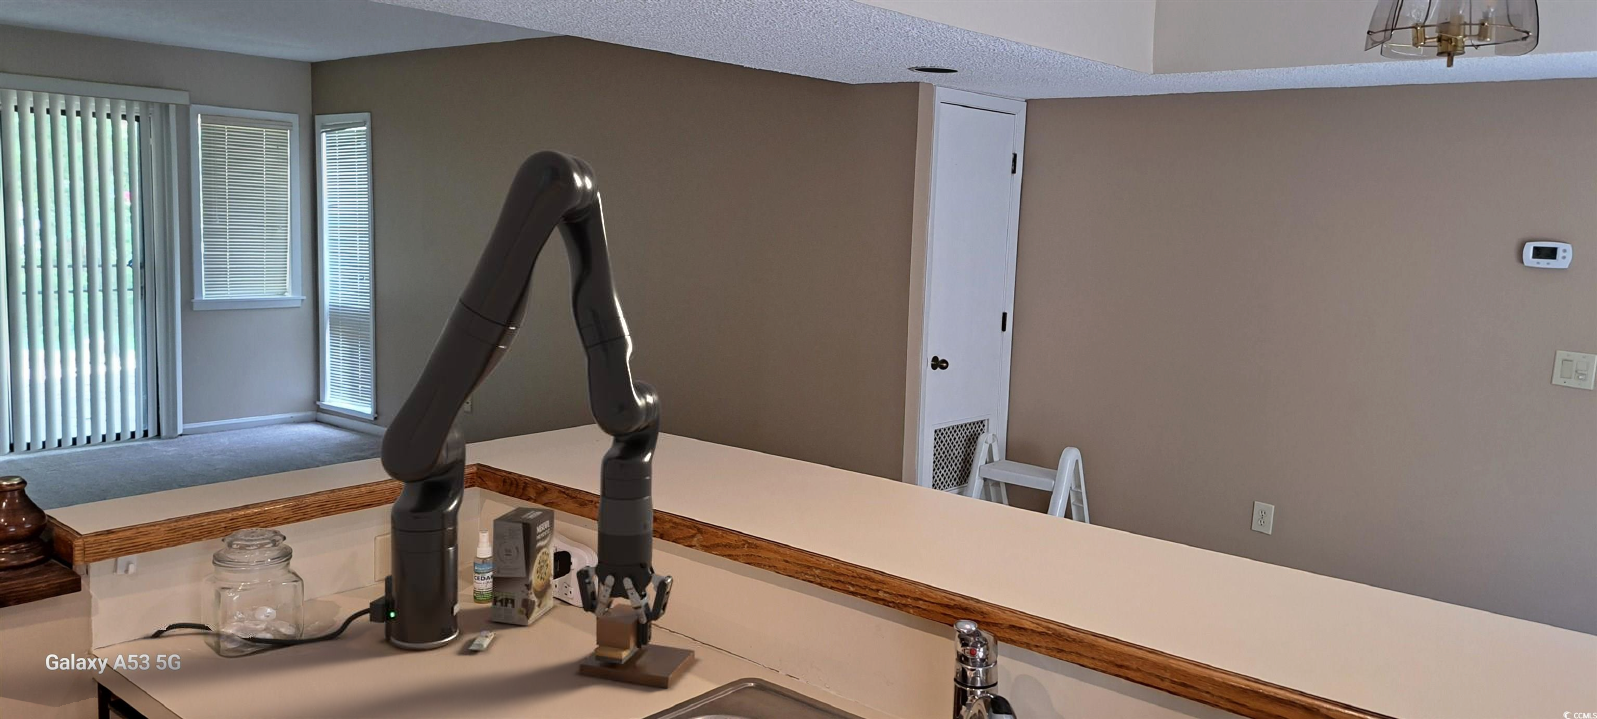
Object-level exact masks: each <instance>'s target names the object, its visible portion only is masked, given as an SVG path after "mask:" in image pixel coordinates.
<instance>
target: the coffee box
mask: <svg viewBox="0 0 1597 719" xmlns="http://www.w3.org/2000/svg"><path fill="white" fill-rule="evenodd" d="M492 521H493V523H492V571H491V572H492V573H491V575H492V577H491V580H492V582H491V621H492V622H495V623H497V622H498V623H504V624H511V625H518V626H525V627H527V626H529V625H531V624H532V623H533V622H534V621H536V620H537V619H538V618H540V617H541V616H542V615H544V614H545V613H546V612H548V611H549V610H550V609H552V608H553V606H554V552H555V551H554V550H555V546H554V545H555V509H553V508H541V507H523V506H518V507H516V508H514V509H512V510H510V511H508V512H506V513H503V514H502V515H501V516H498V517H496V518H494V519H493V520H492Z"/></svg>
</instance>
